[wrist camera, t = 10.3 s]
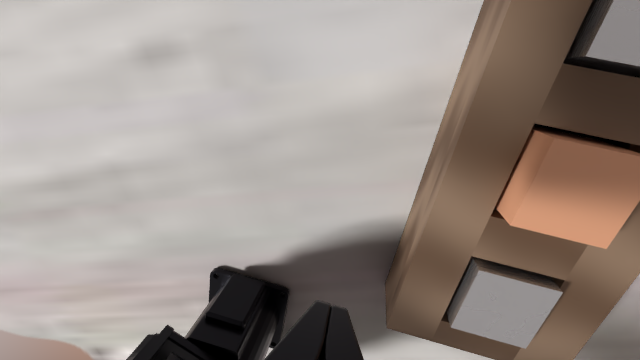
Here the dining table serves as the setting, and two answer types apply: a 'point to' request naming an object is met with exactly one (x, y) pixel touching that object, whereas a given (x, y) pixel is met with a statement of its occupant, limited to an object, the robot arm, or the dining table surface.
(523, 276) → the grey cube
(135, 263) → the dining table surface
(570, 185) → the orange cube
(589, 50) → the grey block
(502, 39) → the console
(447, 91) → the dining table surface
